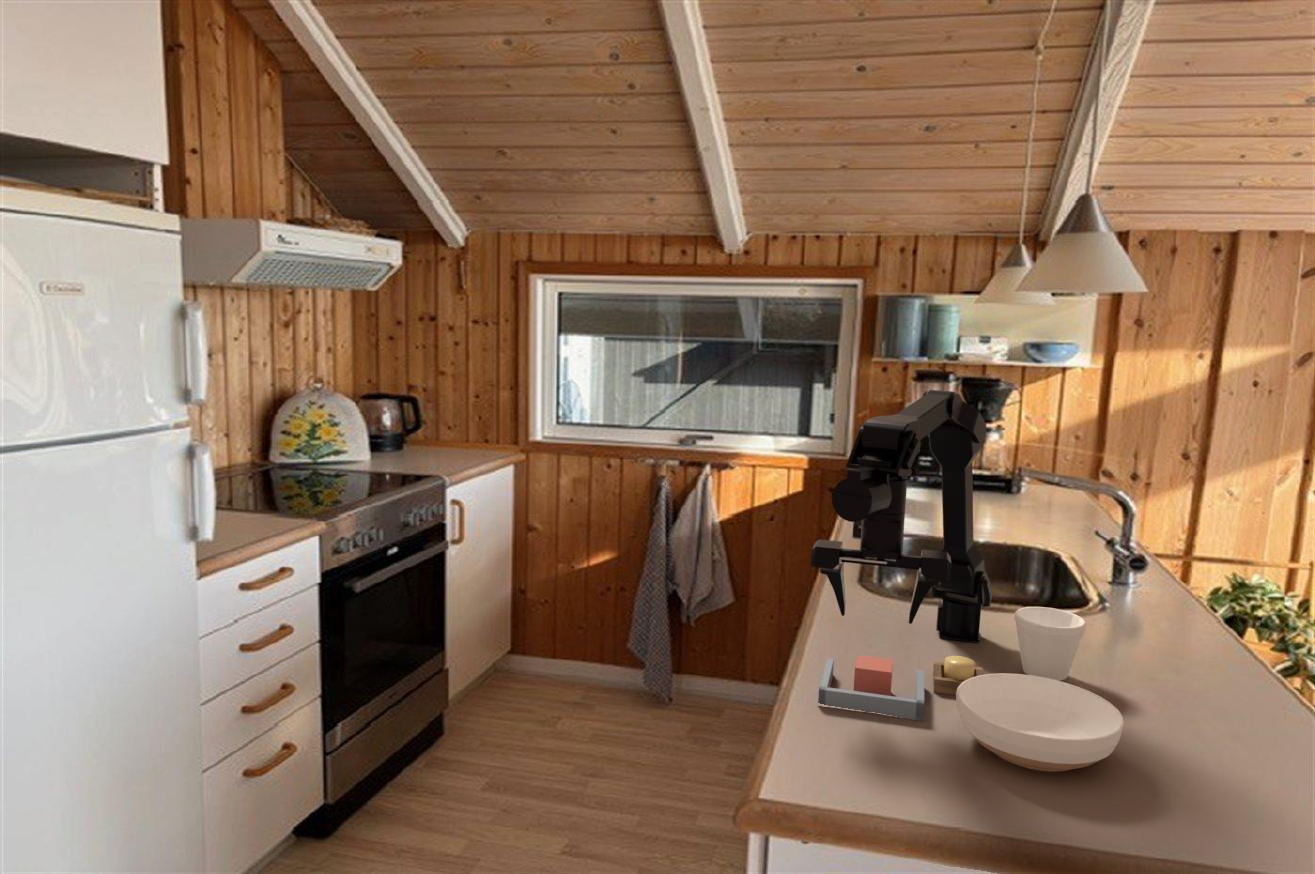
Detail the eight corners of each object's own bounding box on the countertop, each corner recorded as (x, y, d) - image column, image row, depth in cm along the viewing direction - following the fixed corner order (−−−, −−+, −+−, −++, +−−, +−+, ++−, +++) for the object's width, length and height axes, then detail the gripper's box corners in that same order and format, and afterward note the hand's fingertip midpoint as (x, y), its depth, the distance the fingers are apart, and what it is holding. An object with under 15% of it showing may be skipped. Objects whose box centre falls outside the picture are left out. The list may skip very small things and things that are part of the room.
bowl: (1156, 778, 110) (1162, 730, 109) (1018, 798, 105) (1022, 747, 104) (1045, 709, 129) (1049, 667, 128) (922, 723, 123) (926, 679, 122)
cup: (1013, 658, 147) (1018, 602, 146) (1081, 670, 143) (1087, 613, 142) (1006, 679, 139) (1011, 620, 137) (1079, 693, 134) (1085, 632, 133)
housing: (981, 680, 138) (982, 667, 138) (984, 698, 131) (985, 685, 131) (932, 673, 140) (933, 661, 140) (933, 691, 133) (934, 678, 133)
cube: (890, 692, 133) (893, 659, 132) (889, 706, 128) (891, 672, 127) (855, 687, 134) (857, 654, 134) (852, 701, 130) (854, 667, 129)
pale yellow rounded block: (972, 678, 137) (974, 657, 137) (974, 689, 133) (975, 668, 133) (943, 674, 138) (944, 654, 138) (943, 685, 134) (945, 664, 134)
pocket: (922, 686, 135) (923, 670, 135) (923, 721, 124) (924, 703, 123) (826, 673, 139) (827, 657, 138) (817, 706, 127) (818, 688, 127)
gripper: (952, 504, 133) (944, 609, 135) (821, 493, 137) (815, 594, 140) (955, 521, 122) (946, 634, 124) (813, 508, 127) (807, 617, 129)
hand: (876, 618), depth 129 cm, fingers open, 9 cm apart
